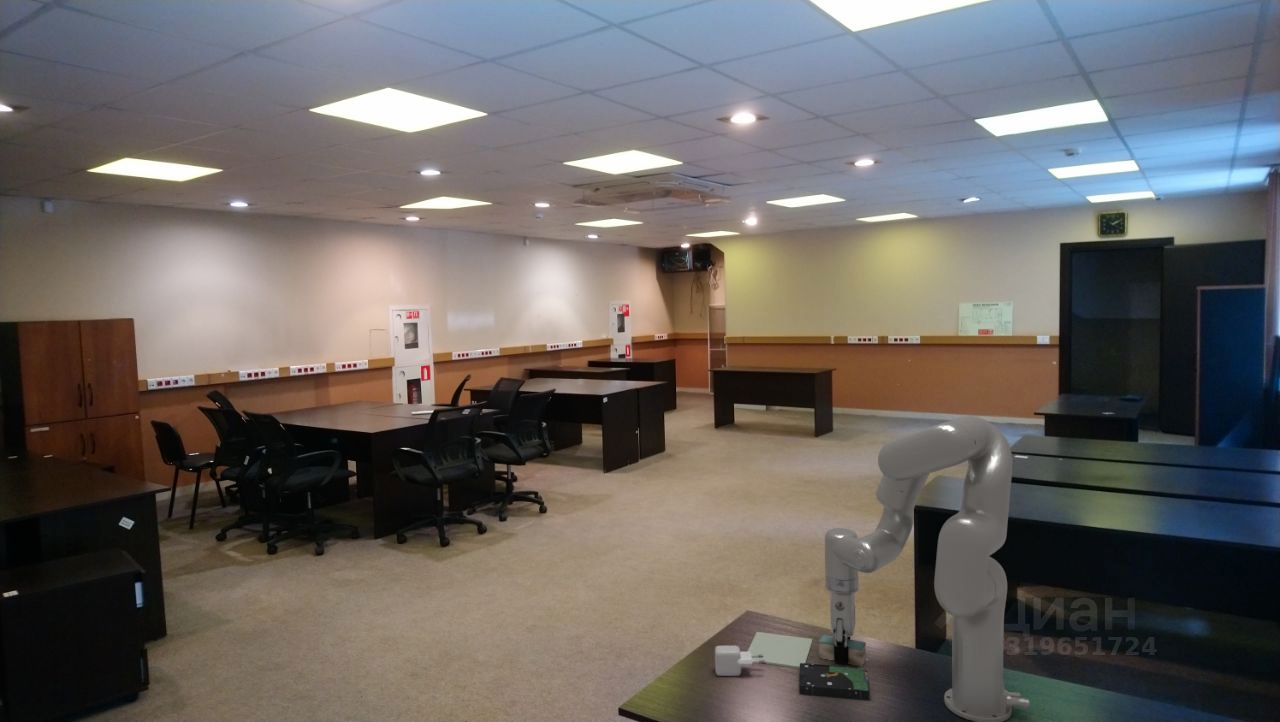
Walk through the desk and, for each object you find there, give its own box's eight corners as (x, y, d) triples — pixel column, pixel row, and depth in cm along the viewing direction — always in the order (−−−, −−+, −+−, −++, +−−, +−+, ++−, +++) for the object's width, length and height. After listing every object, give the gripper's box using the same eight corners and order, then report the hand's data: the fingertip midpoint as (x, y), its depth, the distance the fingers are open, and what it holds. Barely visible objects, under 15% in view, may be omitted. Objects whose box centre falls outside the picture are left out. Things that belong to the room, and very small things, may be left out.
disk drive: (799, 698, 156) (871, 703, 153) (799, 685, 156) (870, 690, 153) (799, 674, 167) (866, 678, 163) (799, 662, 166) (866, 666, 163)
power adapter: (763, 667, 169) (762, 643, 168) (765, 678, 164) (764, 653, 163) (714, 667, 169) (714, 643, 169) (715, 678, 165) (715, 653, 164)
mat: (812, 641, 181) (812, 639, 181) (803, 669, 167) (803, 667, 167) (757, 634, 186) (756, 631, 186) (744, 660, 172) (744, 658, 172)
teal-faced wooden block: (865, 659, 171) (865, 642, 171) (862, 666, 168) (862, 649, 167) (823, 650, 176) (823, 634, 176) (819, 658, 172) (819, 641, 172)
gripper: (855, 597, 161) (856, 677, 163) (860, 571, 177) (861, 643, 178) (821, 593, 164) (821, 671, 165) (829, 568, 180) (830, 639, 181)
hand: (842, 656), depth 172 cm, fingers closed on teal-faced wooden block, 4 cm apart
